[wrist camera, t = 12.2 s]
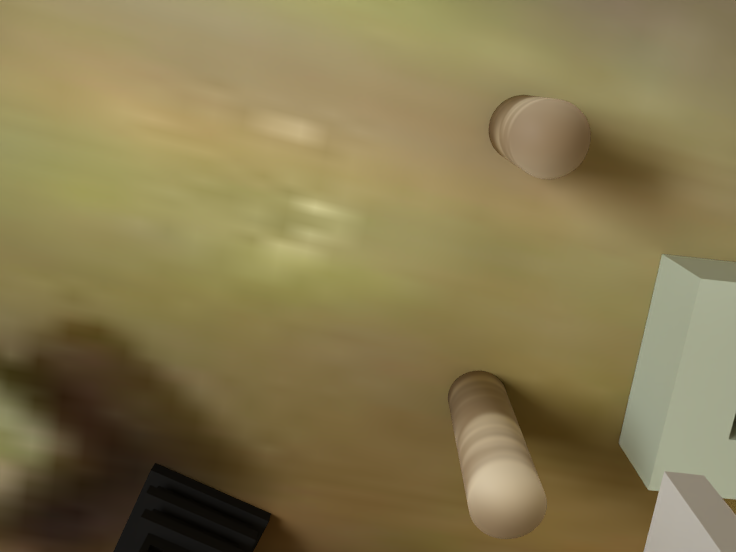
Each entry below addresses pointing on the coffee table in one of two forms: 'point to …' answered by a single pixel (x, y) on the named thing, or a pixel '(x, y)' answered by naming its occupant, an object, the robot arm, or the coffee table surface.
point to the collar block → (686, 377)
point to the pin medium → (494, 458)
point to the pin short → (540, 135)
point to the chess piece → (189, 518)
